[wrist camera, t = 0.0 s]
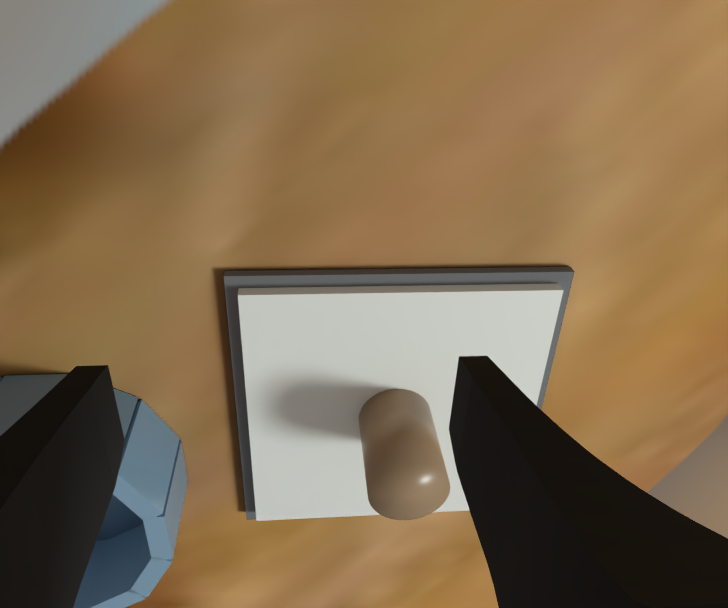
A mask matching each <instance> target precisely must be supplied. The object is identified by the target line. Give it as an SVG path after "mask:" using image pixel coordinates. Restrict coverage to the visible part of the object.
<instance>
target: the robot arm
mask: <svg viewBox="0 0 728 608" xmlns="http://www.w3.org/2000/svg"><path fill="white" fill-rule="evenodd" d="M449 433H450V439H451V444H452V449H453V455H454V459H455V464H456V469H457V473H458V476H459V479H460V482H461V485H462V489H463V492H464V495H465V498H466V501H467V504H468V507H469V510H470V513H471V516H472V519H473V522H474V525H475V528H476V531H477V534H478V537H479V540H480V543H481V546H482V548H483V551H484V554H485V557H486V560H487V563H488V567H489V570H490V574H491V577H492V581H493V584H494V588H495V593H496V597H497V602H498V606H499V608H728V539H727V538H725V537H724V536H722V535H720V534H718V533H716V532H714V531H712V530H710V529H708V528H706V527H704V526H702V525H701V524H699V523H697V522H695V521H693V520H691V519H689V518H688V517H686V516H684V515H683V514H681V513H679V512H677V511H676V510H674V509H672V508H670V507H669V506H667V505H666V504H664V503H662V502H661V501H659V500H658V499H656V498H654V497H653V496H651V495H649V494H648V493H646V492H645V491H643V490H641V489H640V488H638V487H637V486H635V485H634V484H632V483H631V482H629V481H628V480H626V479H625V478H624V477H622V476H621V475H619V474H618V473H617V472H615V471H614V470H613V469H611V468H610V467H608V466H607V465H606V464H604V463H603V462H602V461H600V460H599V459H597V458H596V457H595V456H594V455H592V454H591V453H590V452H589V451H587V450H586V449H585V448H584V447H582V446H581V445H580V444H579V443H578V442H576V441H575V440H574V439H573V438H572V437H571V436H569V435H568V434H567V433H566V432H565V431H563V430H562V429H561V428H560V427H559V426H558V425H557V424H556V423H554V422H553V421H552V420H551V419H550V418H549V417H548V416H547V415H546V414H545V413H544V412H543V411H542V410H540V409H539V408H538V407H537V406H536V405H535V404H534V403H533V402H532V401H531V400H530V399H529V398H528V397H527V396H526V395H525V394H524V393H523V392H522V391H521V390H520V389H519V388H518V387H517V386H516V385H515V384H514V383H513V382H512V381H511V380H510V379H509V378H508V377H507V376H506V374H505V373H504V372H503V371H502V370H501V369H500V368H499V367H498V366H497V365H496V364H495V363H494V362H493V361H492V360H491V359H490V358H489V357H488V356H459V360H458V367H457V374H456V381H455V388H454V395H453V402H452V409H451V416H450V423H449ZM124 443H125V439H124V434H123V430H122V425H121V421H120V417H119V412H118V408H117V403H116V399H115V394H114V390H113V386H112V381H111V377H110V372H109V368H108V365H104V366H76V367H75V368H74V369H73V370H72V371H71V372H70V373H68V374H67V375H66V376H65V377H64V378H63V379H62V380H61V381H60V382H59V383H58V384H57V385H56V386H54V387H53V388H52V389H51V390H50V391H49V392H48V393H47V394H46V395H45V396H44V397H43V398H42V399H41V400H40V401H38V402H37V403H36V404H35V405H34V406H33V407H32V408H31V409H30V410H29V411H28V412H26V413H25V414H24V415H23V416H22V417H21V418H20V419H19V420H18V421H17V422H15V423H14V424H13V425H12V426H11V427H10V428H9V429H8V430H7V431H5V432H4V433H3V434H2V435H1V436H0V608H73V607H74V604H75V601H76V597H77V594H78V591H79V588H80V585H81V582H82V579H83V577H84V574H85V571H86V568H87V565H88V563H89V560H90V557H91V554H92V551H93V549H94V546H95V543H96V540H97V537H98V535H99V532H100V529H101V526H102V523H103V521H104V518H105V515H106V512H107V509H108V506H109V503H110V501H111V498H112V495H113V492H114V489H115V486H116V481H117V477H118V472H119V468H120V463H121V458H122V453H123V448H124Z"/></svg>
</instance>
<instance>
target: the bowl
mask: <svg viewBox="0 0 728 608" xmlns="http://www.w3.org/2000/svg"><path fill="white" fill-rule="evenodd" d="M66 375H67V374H47V375H10V376H4V378H1V377H0V436H1V435H2V434H3V433H4V432H5V431H7V430H8V429H9V428H10V427H11V426H12V425H13V424H14V423H15V422H17V421H18V420H19V419H20V418H21V417H22V416H23V415H24V414H25V413H26V412H28V411H29V410H30V409H31V408H32V407H33V406H34V405H35V404H36V403H37V402H38V401H40V400H41V399H42V398H43V397H44V396H45V395H46V394H47V393H48V392H49V391H50V390H51V389H52V388H53V387H54V386H56V385H57V384H58V383H59V382H60V381H61V380H62V379H63V378H64V377H65V376H66ZM113 390H114V394H115V399H116V403H117V408H118V412H119V417H120V421H121V425H122V430H123V434H124V439H125V443H124V448H123V453H122V458H121V463H120V468H119V472H118V477H117V481H116V486H115V489H114V492H113V495H112V498H111V501H110V503H109V506H108V509H107V512H106V515H105V518H104V521H103V523H102V526H101V529H100V532H99V535H98V537H97V540H96V543H95V546H94V549H93V551H92V554H91V557H90V560H89V563H88V565H87V568H86V571H85V574H84V577H83V579H82V582H81V585H80V588H79V591H78V594H77V597H76V601H75V604H74V607H73V608H125V607H128V606H130V605H132V604H134V603H137V602H139V601H141V600H144V599H145V597H148V596H149V594H150V593H151V592H152V590H153V589H154V587H155V586H156V584H157V583H158V581H159V580H160V579H161V577H162V576H163V574H164V573H165V571H166V570H167V569H168V567H169V566H170V564H171V563H172V560H173V555H174V550H175V545H176V540H177V535H178V530H179V525H180V519H181V514H182V509H183V504H184V499H185V494H186V489H187V483H188V480H187V473H186V467H185V461H184V455H183V449H182V442H181V441H179V439H180V438H179V437H178V436H177V435H176V434H175V433H174V432H173V431H172V430H171V429H170V428H169V427H168V426H167V425H166V424H165V423H164V422H163V421H162V420H161V419H160V418H159V417H158V416H157V414H156V413H155V412H154V411H153V410H152V409H151V408H150V407H149V406H148V405H147V404H146V403H145V402H144V401H143V400H140V401H138V402H137V400H138V397H136V396H133V395H130V394H127V393H125V392H122V391H119V390H117V389H114V388H113Z"/></svg>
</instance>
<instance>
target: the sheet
mask: <svg viewBox="0 0 728 608" xmlns="http://www.w3.org/2000/svg"><path fill="white" fill-rule="evenodd" d="M563 291H564V290H563V289H562V287H561V286H560V284H559V283H556V284H488V285H420V286H352V287H284V288H239V290H238V305H239V317H240V329H241V341H242V353H243V365H244V377H245V389H246V401H247V413H248V425H249V437H250V449H251V461H252V473H253V485H254V498H255V510H256V521H262V520H282V519H303V518H323V517H344V516H364V515H382V516H384V517H387V518H390V519H395V520H412V519H417V518H421V517H424V516H426V515H428V514H430V513H432V512H445V511H466V510H469V507H468V504H467V501H466V498H465V495H464V492H463V489H462V485H461V482H460V479H459V476H458V473H457V469H456V464H455V459H454V455H453V449H452V444H451V439H450V433H449V423H450V416H451V409H452V402H453V395H454V388H455V381H456V374H457V367H458V360H459V356H488V357H489V358H490V359H491V360H492V361H493V362H494V363H495V364H496V365H497V366H498V367H499V368H500V369H501V370H502V371H503V372H504V373H505V374H506V376H507V377H508V378H509V379H510V380H511V381H512V382H513V383H514V384H515V385H516V386H517V387H518V388H519V389H520V390H521V391H522V392H523V393H524V394H525V395H526V396H527V397H528V398H529V399H530V400H531V401H532V402H533V403H534V404H535V405H536V406H537V401H538V397H539V393H540V389H541V384H542V380H543V376H544V372H545V367H546V363H547V359H548V355H549V350H550V346H551V342H552V338H553V333H554V329H555V325H556V320H557V316H558V312H559V308H560V303H561V299H562V295H563Z"/></svg>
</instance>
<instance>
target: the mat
mask: <svg viewBox="0 0 728 608" xmlns="http://www.w3.org/2000/svg"><path fill="white" fill-rule="evenodd" d="M573 275H574V271H573V269H572V268H571V267H505V268H422V269H340V270H257V271H225V272H224V285H225V296H226V306H227V317H228V327H229V338H230V348H231V359H232V369H233V380H234V390H235V401H236V411H237V422H238V433H239V443H240V454H241V464H242V475H243V485H244V496H245V506H246V517H247V520H251V519H256V510H255V498H254V485H253V473H252V461H251V449H250V437H249V425H248V413H247V401H246V389H245V377H244V365H243V353H242V341H241V329H240V317H239V305H238V290H239V288H284V287H352V286H420V285H488V284H556V283H559V284H560V286H561V287H562V289H563V290H564V291H563V295H562V299H561V303H560V308H559V312H558V316H557V320H556V325H555V329H554V333H553V338H552V342H551V346H550V350H549V355H548V359H547V363H546V367H545V372H544V376H543V380H542V384H541V389H540V393H539V397H538V401H537V407H538V408H539V409H540V410H541V408H542V404H543V400H544V396H545V392H546V387H547V383H548V379H549V375H550V371H551V367H552V363H553V358H554V354H555V350H556V346H557V342H558V338H559V333H560V329H561V325H562V321H563V317H564V313H565V309H566V304H567V300H568V296H569V292H570V288H571V284H572V279H573Z"/></svg>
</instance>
